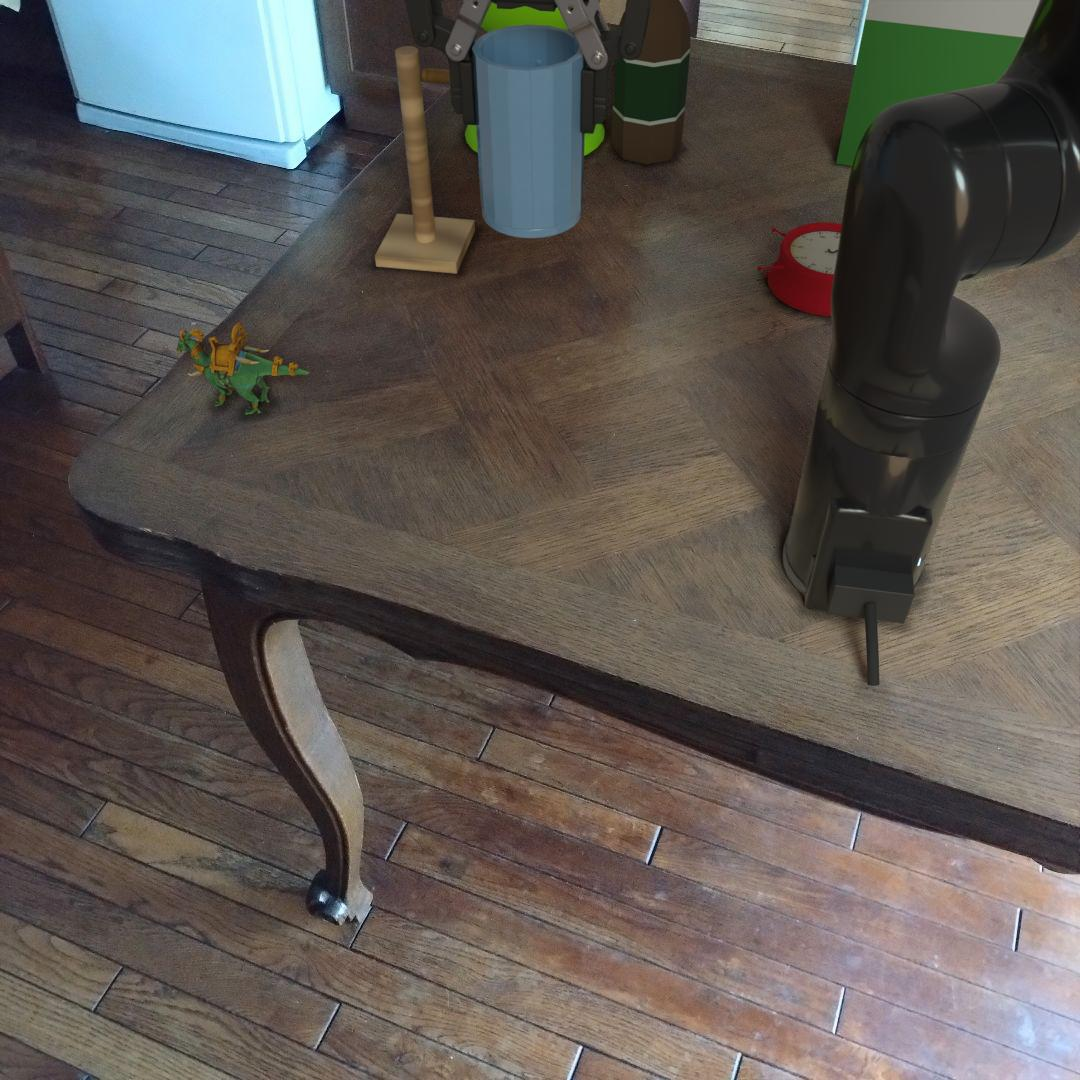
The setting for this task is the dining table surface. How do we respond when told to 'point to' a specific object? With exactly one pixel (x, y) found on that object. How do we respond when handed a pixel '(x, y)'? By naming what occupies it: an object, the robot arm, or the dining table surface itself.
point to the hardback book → (928, 54)
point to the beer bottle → (653, 88)
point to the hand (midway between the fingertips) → (531, 122)
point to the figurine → (234, 365)
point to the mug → (529, 129)
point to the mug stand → (421, 187)
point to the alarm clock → (806, 267)
